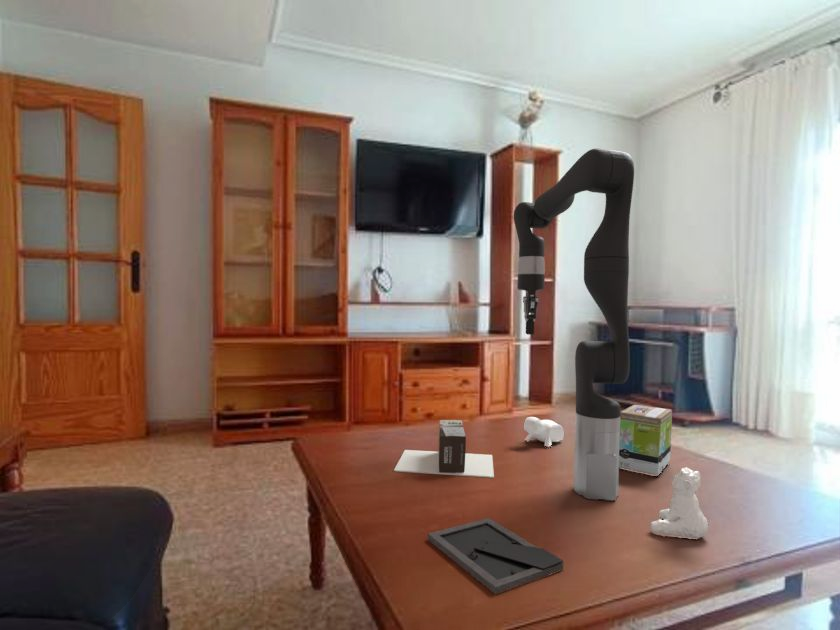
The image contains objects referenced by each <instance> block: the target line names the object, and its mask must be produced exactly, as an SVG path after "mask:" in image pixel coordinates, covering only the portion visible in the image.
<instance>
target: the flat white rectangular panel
mask: <svg viewBox="0 0 840 630" xmlns="http://www.w3.org/2000/svg"><path fill="white" fill-rule="evenodd" d="M393 472H398V473H400V472H401V473H415V474H428V475H429V474H430V475H431V474H432V475H444V476H445V475H446V476H457V477H458V476H459V477H461V476H462V477H476V478H490V479H491V478H493V479H494V478H495V475H494V473H495V471H494V459H493V454H481V453H466V452H465V471H464V472H456V473H447V472H439V453H438V451H434V450H433V451H431V450H419V449H418V450H416V449H415V450H412V449H404V451H403V453H402V454H401V457H400V459H399V460H398V461H397V464H396V466H395V467H394V470H393Z"/></svg>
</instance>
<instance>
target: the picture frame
mask: <svg viewBox="0 0 840 630" xmlns="http://www.w3.org/2000/svg"><path fill="white" fill-rule="evenodd" d="M427 541H429V542H430V543H431V544H432V545H433V546H434V547H436V548H437V549H438V550H440V551H441V552H443V554H445V556H447V557H448V558H450V560H452V561H454V563H456V564H457V565H458V566H460V568H462V569H463V570H464V569H465V570H464V571H466V572H467V573H468V574H469V573H470V574H471V575H470V574H469V575H470V576H471V577H473V578H474V577H475V578H476V579H475V578H474V579H475V580H477V581H478V582H479V581H480V582H481V583H482V584H481V583H480V582H479V583H480V584H481V585H483V586H484V585H485V586H486V587H487V588H486V587H485V586H484V587H485V588H486V589H488V588H489V589H490V590H491V591H492V592H493V593H492V592H491V591H490V590H489V589H488V590H489V591H490V592H491V593H492V594H494V593H495V594H497V595H499V594H498V593H500V592H502V591H505V590H507V589H510V588H513V587H516V586H518V585H521V586H523V585H522V584H524V583H527V582H529V583H531V582H530V581H532V582H534V581H533V580H535V579H538V578H540V579H542V578H541V577H543V578H545V577H544V576H546V577H548V576H550V575H549V574H551V573H554V572H557V571H559V570H562V569H563V570H564V560H563V559H562V558H560V557H558V556H557V555H555V554H554V553H552V552H550V551H548V550H547V549H545V548H543V547H537V546H535V545H534V544H533V543H531V542H529V541H528V540H526V539H524V538H522V536H519V535H517V534H516V533H514V532H513V531H512V530H509V528H507V527H504V525H501V524H500V523H498V522H497V521H495V520H494V519H491V518H490V517H486V518H483V519H480V520H476V521H472V522H468V523H467V522H466V523H463V524H461V525H457V526H456V525H455V526H452V527H449V528H444V529H441V530H436V531H433V532H429V533H428V532H427ZM563 570H562V571H563ZM559 572H560V571H559ZM557 573H558V572H557ZM554 574H555V573H554ZM547 575H548V576H547ZM551 575H552V574H551ZM538 580H539V579H538ZM535 581H536V580H535ZM527 584H528V583H527ZM524 585H525V584H524ZM516 588H517V587H516ZM513 589H514V588H513ZM510 590H511V589H510ZM505 592H506V591H505ZM502 593H503V592H502ZM495 594H494V595H495ZM500 594H501V593H500Z"/></svg>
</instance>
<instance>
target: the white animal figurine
mask: <svg viewBox="0 0 840 630" xmlns="http://www.w3.org/2000/svg"><path fill="white" fill-rule="evenodd" d="M523 429H524V431H525V432H527V433H528V434H527V436H526V437H525V438H524V440H527V441H530V440H532V441H533V440H535V439H536V440H538V441H540V442H543V443H544V447H545V446H548V447H549V446H551V445H553V444H552V443H554V442H560V440H563V441H564V436H565V433H564V432H565V431H564V428H563V426H562V425H560V424H558V423H557V422H555V421H553V420H551V419H540V418H538V417H535V416H528V417H526V418H525V420H524V424H523ZM551 447H552V446H551Z"/></svg>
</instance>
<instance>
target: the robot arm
mask: <svg viewBox="0 0 840 630" xmlns="http://www.w3.org/2000/svg"><path fill="white" fill-rule="evenodd" d="M634 179H635V164H634V160H633V157H632V156H631V155H630V154H629V153H628V152H624V151H621V150H613V149H605V148H591V149H590V150H587V151H585V152H584V154H582V155H581V156H580V157H579V158H578V159H576V161H575V163H573V164H572V166H570V168H569V169H568V170H567V171H566V172H565V174H564V175H563V176H562V177H561V178H560V179H559V180H558V181H557V182H556V183H555V184H554V185H553V186H551V187H550V188H549V189H547V190H546V191H544V192H543V193H542V194H540V195H539V196H538V197H537V198H536V199H535V201H534V202H528V201H527V202H525V201H523V202H519V203H518V204H517V205H516V207H515V208H514V211H513V221H514V227H515V230H516V234H517V238H518V246H519V249H518V250H519V251H518V262H517V288H516V289H517V291H524V292H525V296H523V297H522V303H523V313H524V316H523V317H524V320H525V334H526V335H532V336H533V335H534V333H535V322H536V319H537V313H538V304H539V296H537V292H538V291H544V290H545V278H546V276H545V275H546V263H545V239H544V238H543V237H542V236H540V235H537V234H534V233H533V231H532V229H536V230H537V229H545V228H548V227H549V226H550V225H551V224H552V222H553V221H554V220H555V218H556V217H557V216H560V215H561V214H563V213H565V212H566V211H568V210H569V208H571V206H572V205H573V204H574V201H575V198H576V197H575V196H576V194H579V193H581V192H586V191H587V192H589V193H598V194H604V195H605V209H604V215H603V217H602V220H601V222H600V225H598V228H597V229H596V230H595V232H594V234H593V235H592V237H591V238H590V240H589V242H588V244H587V246H586V248H585V251H584V256H583V282H584V285H585V288H586V289H587V292H589V294H590V296H591V298H592V299H593V300H594V302H595V304H596V305H597V306H598V308H599V310H600V311H601V313H602V315H603V317H604V319H605V321H606V323H607V326H608V331H609V340H610V341H602V340H597V341H596V340H582V341H580V342H579V343H578V344H577V346H576V349H575V355H574V364H575V365H574V366H575V367H574V368H575V369H574V371H575V417H574V418H575V419H574V421H575V425H574V426H575V427H574V454H573V455H574V458H573V459H574V462H573V463H574V465H573V490H574V492H575V493H577V494H578V495H581V496H582V495H583V496H582V497H583V498H585V499H586V498H588V500H598V499H606V500H605V501H613V500H616V501H617V498H618V497H619V480H620V479H619V478H620V475H619V474H620V469H619V445H620V412H621V411H622V410H621V408H622V407H621V404H620V403H619V401H616V400H614V399H613V398H609V397H605V396H604V395H601V394H599V393H598V392H597V391H596V390H595V389H594V384H607V385H621V384H624V383H625V382H627V380H628V378H629V374H630V369H631V368H630V366H631V356H630V338H629V337H630V336H629V324H628V323H629V321H628V303H629V302H628V301H629V297H628V295H629V277H630V276H629V275H630V274H629V273H630V272H629V271H630V252H629V249H630V248H629V247H630V246H629V245H630V244H629V243H630V242H629V241H630V215H631V206H632V198H633V191H634V190H633V189H634V182H635V180H634ZM617 496H618V497H617ZM616 497H617V498H616Z"/></svg>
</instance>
